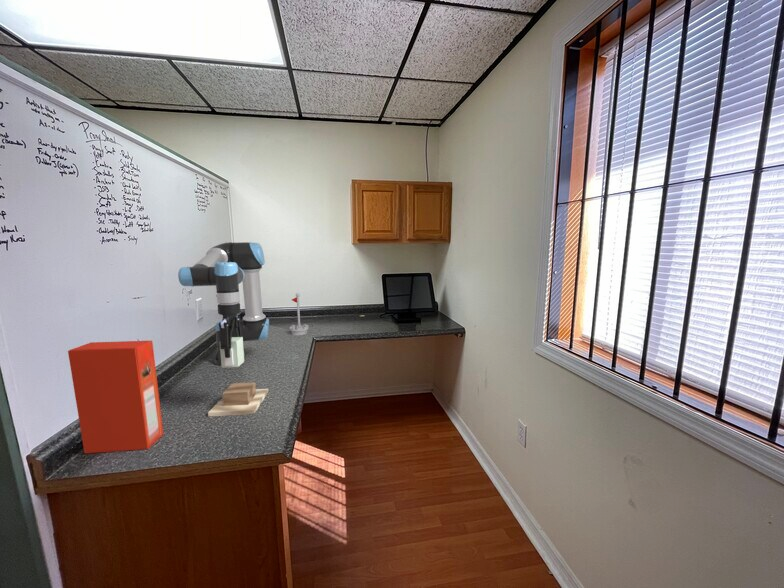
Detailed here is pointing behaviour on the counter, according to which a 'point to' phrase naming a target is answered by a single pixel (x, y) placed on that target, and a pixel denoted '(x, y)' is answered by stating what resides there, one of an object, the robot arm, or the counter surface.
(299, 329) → the flag stand
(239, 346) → the sage pillar
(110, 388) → the file binder
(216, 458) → the counter surface
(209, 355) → the counter surface
